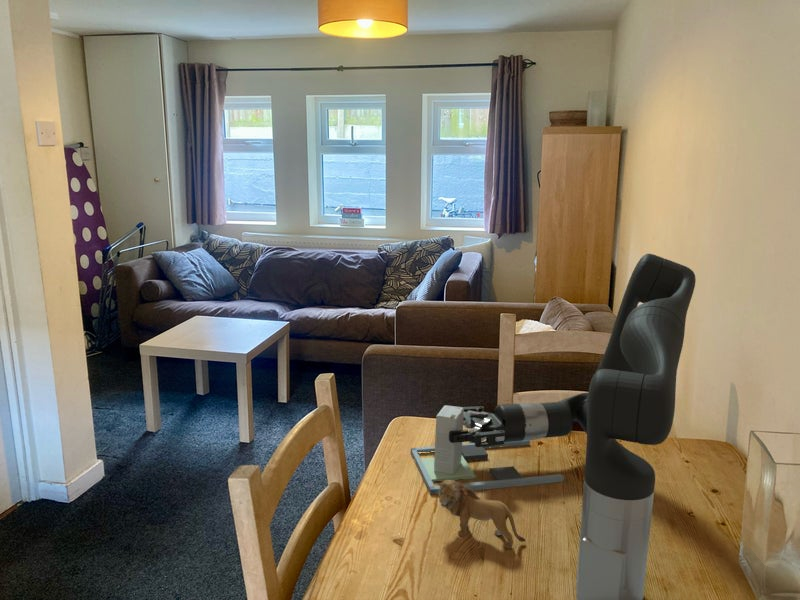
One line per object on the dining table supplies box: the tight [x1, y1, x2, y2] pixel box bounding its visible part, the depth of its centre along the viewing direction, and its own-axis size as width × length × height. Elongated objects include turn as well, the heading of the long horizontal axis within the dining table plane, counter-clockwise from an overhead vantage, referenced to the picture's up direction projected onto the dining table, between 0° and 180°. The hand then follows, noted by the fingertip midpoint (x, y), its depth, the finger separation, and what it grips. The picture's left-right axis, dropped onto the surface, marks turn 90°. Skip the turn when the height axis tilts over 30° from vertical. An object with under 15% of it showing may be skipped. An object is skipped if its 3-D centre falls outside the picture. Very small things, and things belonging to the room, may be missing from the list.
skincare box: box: [433, 404, 465, 474], centre depth 126 cm, size 6×4×12 cm
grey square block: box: [489, 465, 523, 481], centre depth 124 cm, size 5×5×1 cm
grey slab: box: [462, 445, 489, 461], centre depth 134 cm, size 5×5×1 cm
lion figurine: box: [437, 480, 526, 550], centre depth 104 cm, size 15×5×9 cm, turn 72°
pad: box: [421, 456, 476, 483], centre depth 128 cm, size 9×9×1 cm
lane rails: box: [410, 440, 564, 495], centre depth 129 cm, size 27×18×1 cm
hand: (443, 428), depth 125 cm, fingers open, 8 cm apart
